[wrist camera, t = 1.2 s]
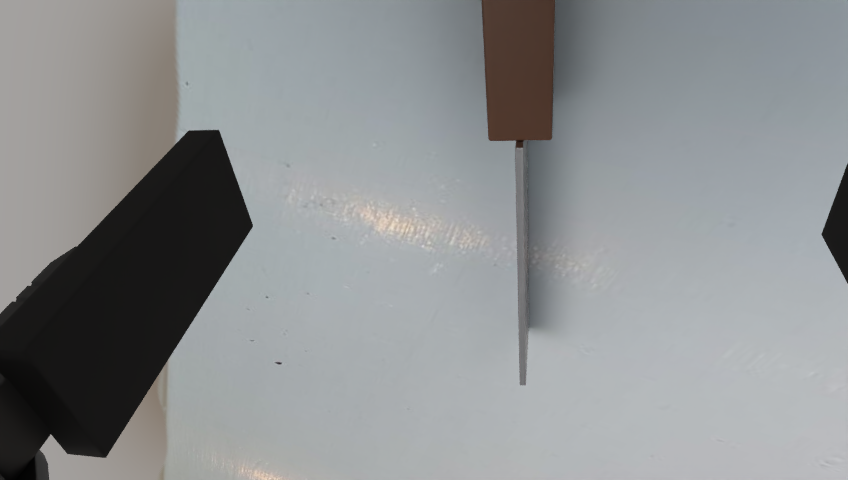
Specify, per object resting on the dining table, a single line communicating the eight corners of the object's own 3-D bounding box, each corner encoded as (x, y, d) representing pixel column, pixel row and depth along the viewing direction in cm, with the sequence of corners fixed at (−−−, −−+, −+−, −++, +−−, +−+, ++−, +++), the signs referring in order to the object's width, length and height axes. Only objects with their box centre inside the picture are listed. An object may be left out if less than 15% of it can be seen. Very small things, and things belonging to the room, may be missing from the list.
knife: (484, -180, 20) (471, -167, 17) (559, -189, 20) (559, -177, 16) (504, 327, 35) (499, 383, 32) (547, 329, 34) (546, 387, 31)
